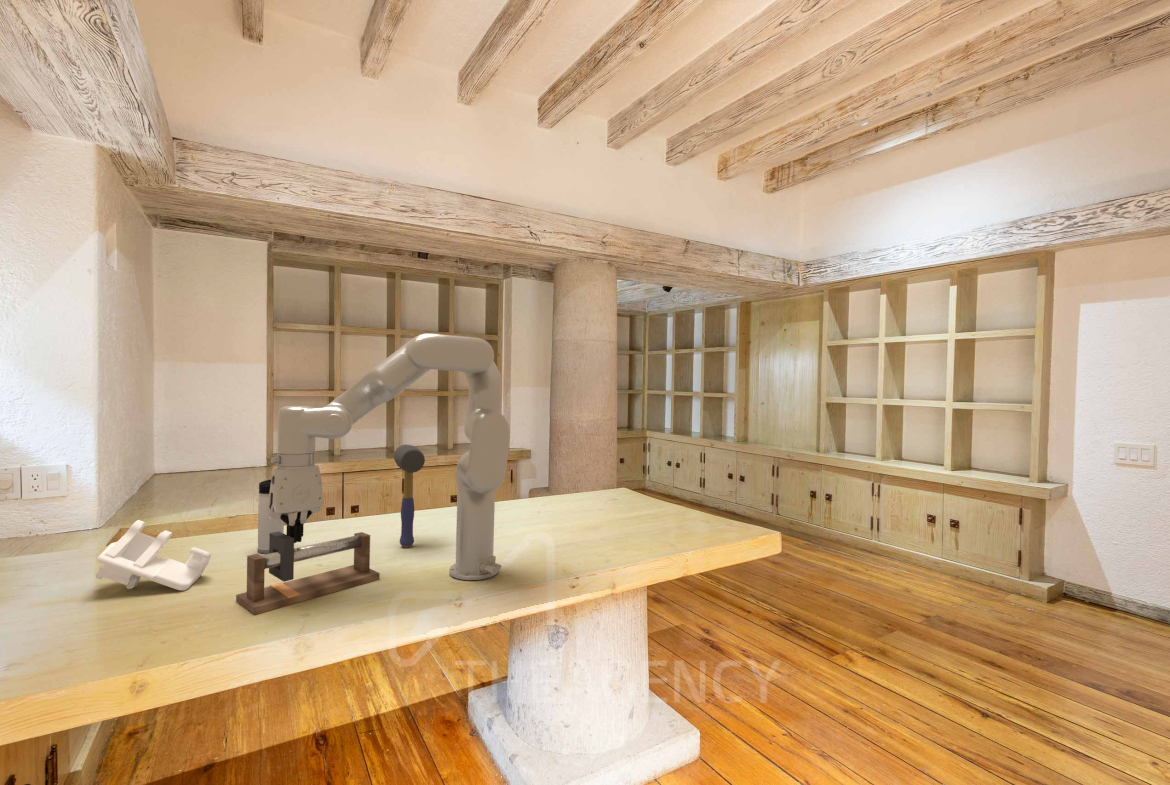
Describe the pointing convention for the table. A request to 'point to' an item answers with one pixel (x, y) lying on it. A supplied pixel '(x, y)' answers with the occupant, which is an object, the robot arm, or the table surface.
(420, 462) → the rubber mallet
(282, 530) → the travel mug
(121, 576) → the white angular bracket piece
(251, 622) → the table surface
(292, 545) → the collar
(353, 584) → the pipe stand
